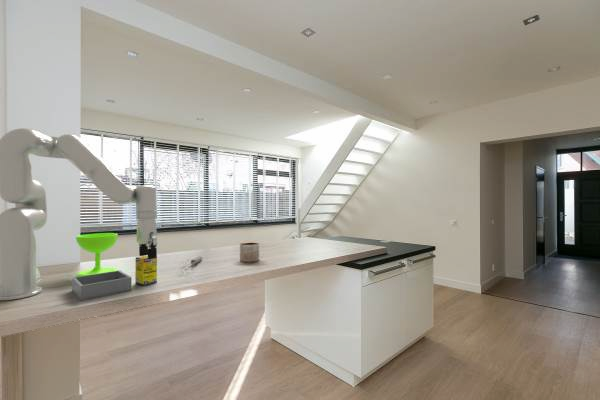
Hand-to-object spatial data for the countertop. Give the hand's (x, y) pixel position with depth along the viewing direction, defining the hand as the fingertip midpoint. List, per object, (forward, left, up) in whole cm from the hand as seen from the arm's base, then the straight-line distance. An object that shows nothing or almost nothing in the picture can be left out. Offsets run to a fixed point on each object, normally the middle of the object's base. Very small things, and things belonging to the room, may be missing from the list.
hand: (147, 256), depth 119 cm
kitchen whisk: (+27, +15, -11) cm, 33 cm away
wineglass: (-11, +33, -11) cm, 37 cm away
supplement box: (-1, 0, -11) cm, 11 cm away
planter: (+55, +5, -11) cm, 57 cm away
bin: (-16, +2, -11) cm, 19 cm away
